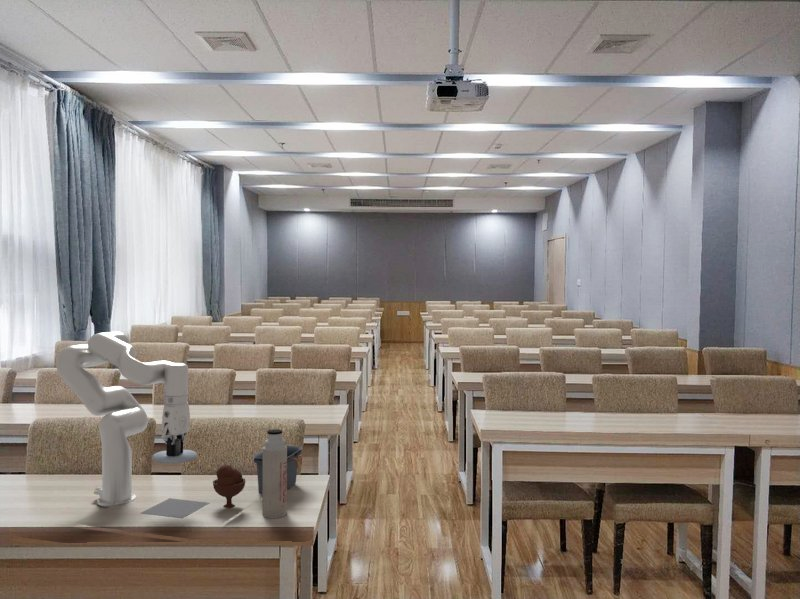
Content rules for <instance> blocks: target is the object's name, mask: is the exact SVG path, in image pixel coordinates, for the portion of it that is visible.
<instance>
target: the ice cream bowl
mask: <svg viewBox="0 0 800 599" xmlns="http://www.w3.org/2000/svg"><path fill="white" fill-rule="evenodd" d="M212 485H213V489H214V492H215V493H217V495H219V496H221V497H223V498H225V500H226V503H225V504H224V505H223V508H225V509H231V508H235V507H236V505H235V504H234V503H232V502H233V500H232V499H233V497H236V496H238V495H239V494H240V493H241V492H243V490H244V488H245V486H246V478H244V477H243V475H242V472H241V471H240V470H239V469H238V468H235V467H232V466H231V465H228V464H223V465H220V466H219V467H218V468H217V469H216V479H214V480H213V481H212Z"/></svg>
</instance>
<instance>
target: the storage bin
mask: <svg viewBox="0 0 800 599" xmlns="http://www.w3.org/2000/svg"><path fill="white" fill-rule="evenodd" d="M285 446H287V491H288V490H289V489H290V488H291V487H293V486H294V485H296V484H297V483H296V482H297V474H298V469H300V468H301V467H302V465H303V464H302V463H303V457H302V449H303V446H300V445H299V446H298V445H286V444H285ZM299 457H300V465H299ZM252 458H253V463H254V464H256V472H257V487H258V489H257V490H258V494H259V495H263V449H262V450H261V451H259V452H257V453H255V454H253V455H252Z"/></svg>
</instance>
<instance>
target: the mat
mask: <svg viewBox="0 0 800 599" xmlns="http://www.w3.org/2000/svg"><path fill="white" fill-rule="evenodd" d="M209 504H210V502H207V501H197V500H188V499H180V498H179V499H178V498H171V497H170V498H167V499H166V500H163V501H162V502H159V503H157V504H156V505H153V506H151V507H149V508H148V509H145V510H143V511H142V512H140V514H143V515H153V516H160V517H168V518H178V519H184V518H186V517H188V516H189V515H191V514H193V513H195V512H196V511H198V510H200V509H202V508H203V507H205V506H207V505H209Z"/></svg>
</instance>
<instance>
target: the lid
mask: <svg viewBox="0 0 800 599" xmlns="http://www.w3.org/2000/svg"><path fill="white" fill-rule="evenodd" d="M171 440H172V438H171ZM175 444H176V455H175V456H174V457H173V456H167V455H166V450H161V451H158V452H155V453H154V454H152V461H154V462H156V463H160V464H179V463H185V462H189V461H190V462H191V461H194V460H195V459H196V458H197V457H198V456H197V454H198V453H197V452H196V451H194V450H192V449H184V448H183V453H181V439H175Z"/></svg>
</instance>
